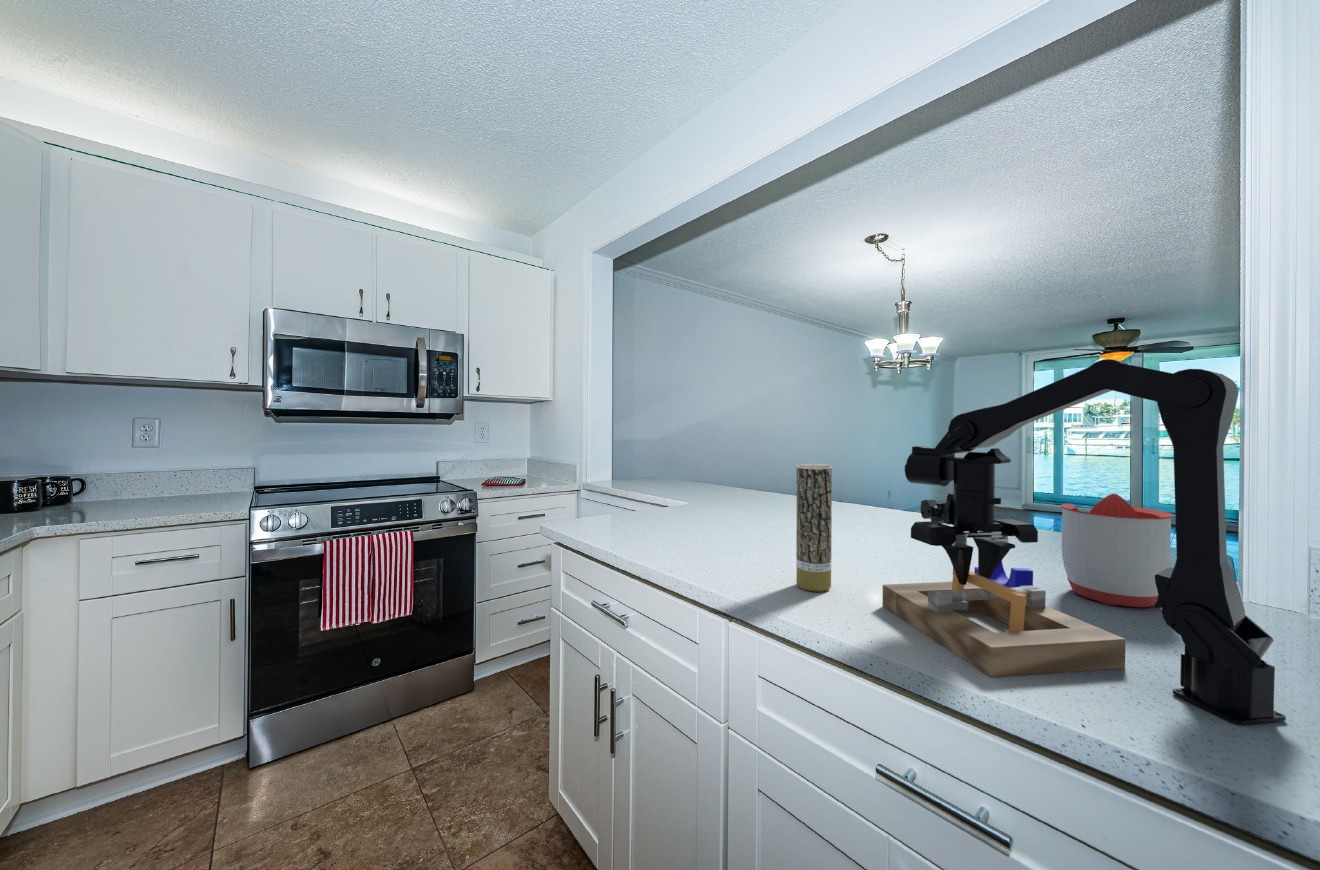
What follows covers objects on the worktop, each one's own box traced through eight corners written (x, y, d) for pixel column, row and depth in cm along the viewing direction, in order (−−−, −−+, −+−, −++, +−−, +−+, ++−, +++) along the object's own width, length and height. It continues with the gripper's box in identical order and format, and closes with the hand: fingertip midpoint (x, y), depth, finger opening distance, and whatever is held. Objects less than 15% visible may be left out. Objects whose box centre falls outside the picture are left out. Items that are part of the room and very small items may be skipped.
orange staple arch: (1029, 642, 71) (1032, 596, 71) (1010, 642, 71) (1014, 596, 70) (960, 605, 85) (963, 566, 84) (945, 605, 84) (948, 566, 84)
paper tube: (838, 590, 97) (839, 465, 97) (811, 594, 95) (811, 467, 94) (816, 580, 104) (816, 463, 103) (789, 584, 101) (789, 464, 101)
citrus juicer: (1114, 582, 101) (1116, 487, 101) (1198, 615, 84) (1201, 500, 84) (1034, 580, 103) (1036, 486, 103) (1100, 612, 86) (1102, 499, 85)
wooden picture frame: (1124, 667, 66) (1125, 617, 66) (990, 677, 64) (991, 624, 64) (982, 601, 91) (983, 564, 91) (882, 606, 89) (882, 568, 89)
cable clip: (974, 580, 103) (974, 552, 103) (997, 581, 103) (997, 553, 103) (1006, 601, 92) (1006, 569, 91) (1032, 602, 91) (1033, 570, 91)
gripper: (987, 482, 89) (986, 567, 89) (891, 484, 87) (891, 571, 87) (1041, 491, 78) (1040, 587, 78) (933, 493, 76) (932, 592, 76)
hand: (972, 583), depth 80 cm, fingers open, 3 cm apart
